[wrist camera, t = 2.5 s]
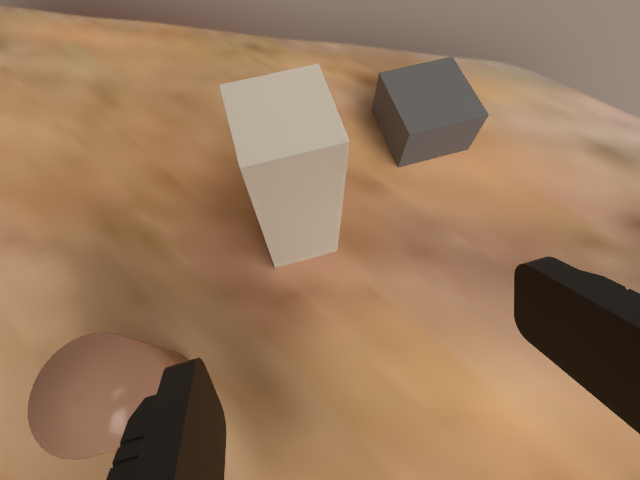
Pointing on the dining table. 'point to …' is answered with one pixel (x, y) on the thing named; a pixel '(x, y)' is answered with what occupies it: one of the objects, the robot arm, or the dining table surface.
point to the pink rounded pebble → (93, 393)
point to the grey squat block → (427, 111)
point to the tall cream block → (290, 159)
